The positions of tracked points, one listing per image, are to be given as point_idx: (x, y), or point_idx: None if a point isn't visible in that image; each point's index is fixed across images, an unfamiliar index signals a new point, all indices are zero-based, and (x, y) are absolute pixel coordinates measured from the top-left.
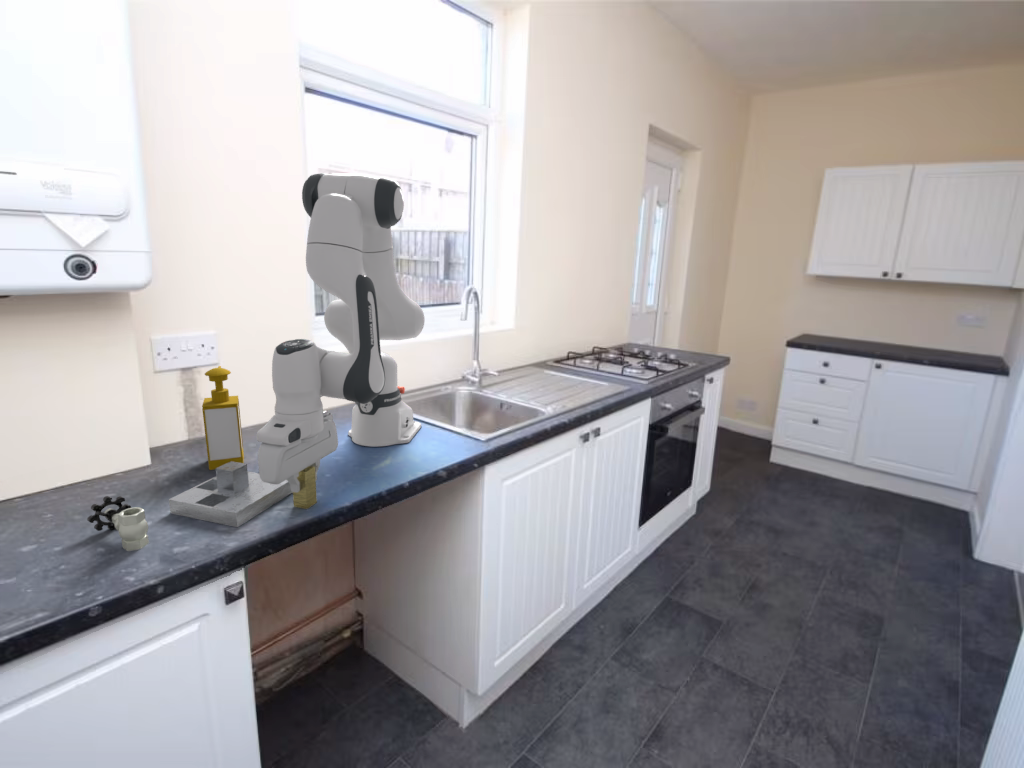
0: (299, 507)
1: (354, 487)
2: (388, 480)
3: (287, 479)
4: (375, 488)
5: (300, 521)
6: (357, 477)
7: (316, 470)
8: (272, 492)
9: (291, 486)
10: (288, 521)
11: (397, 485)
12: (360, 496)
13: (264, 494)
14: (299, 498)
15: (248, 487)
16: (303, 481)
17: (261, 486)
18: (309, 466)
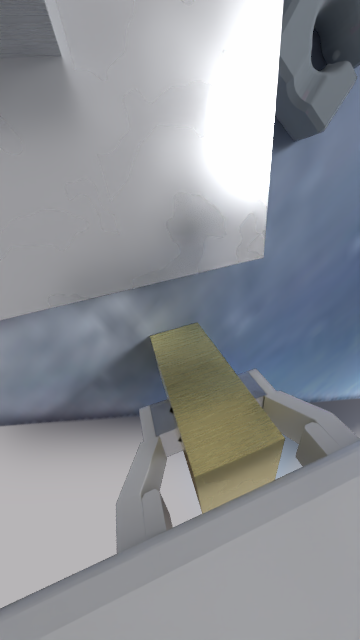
0: (154, 353)
1: (295, 356)
2: (333, 376)
3: (125, 488)
4: (298, 386)
5: (102, 409)
6: (345, 321)
7: (278, 429)
8: (122, 287)
9: (142, 430)
10: (80, 393)
11: (314, 400)
12: None
13: (70, 290)
14: (161, 376)
15: (46, 74)
16: (185, 456)
17: (123, 175)
18: (272, 469)
